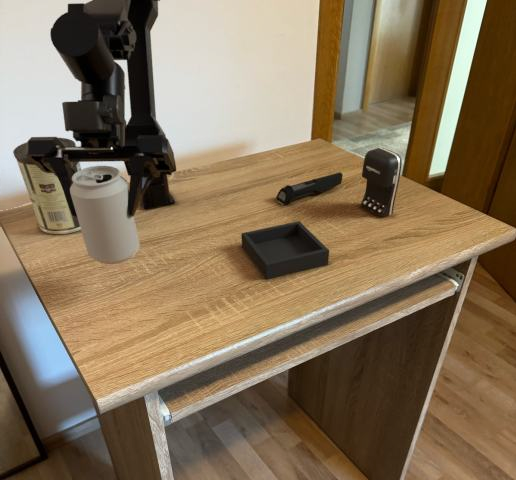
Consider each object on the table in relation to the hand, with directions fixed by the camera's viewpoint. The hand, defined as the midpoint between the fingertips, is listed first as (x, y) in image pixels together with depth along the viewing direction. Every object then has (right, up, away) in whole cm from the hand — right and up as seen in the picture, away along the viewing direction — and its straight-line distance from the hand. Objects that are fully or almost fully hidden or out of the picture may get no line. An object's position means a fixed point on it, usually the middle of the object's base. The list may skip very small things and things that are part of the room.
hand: (102, 216), depth 66 cm
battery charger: (+44, +8, +29) cm, 53 cm away
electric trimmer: (+32, +14, +35) cm, 49 cm away
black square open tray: (+25, -2, +17) cm, 31 cm away
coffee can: (-16, +6, +28) cm, 32 cm away
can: (0, -4, +6) cm, 7 cm away
